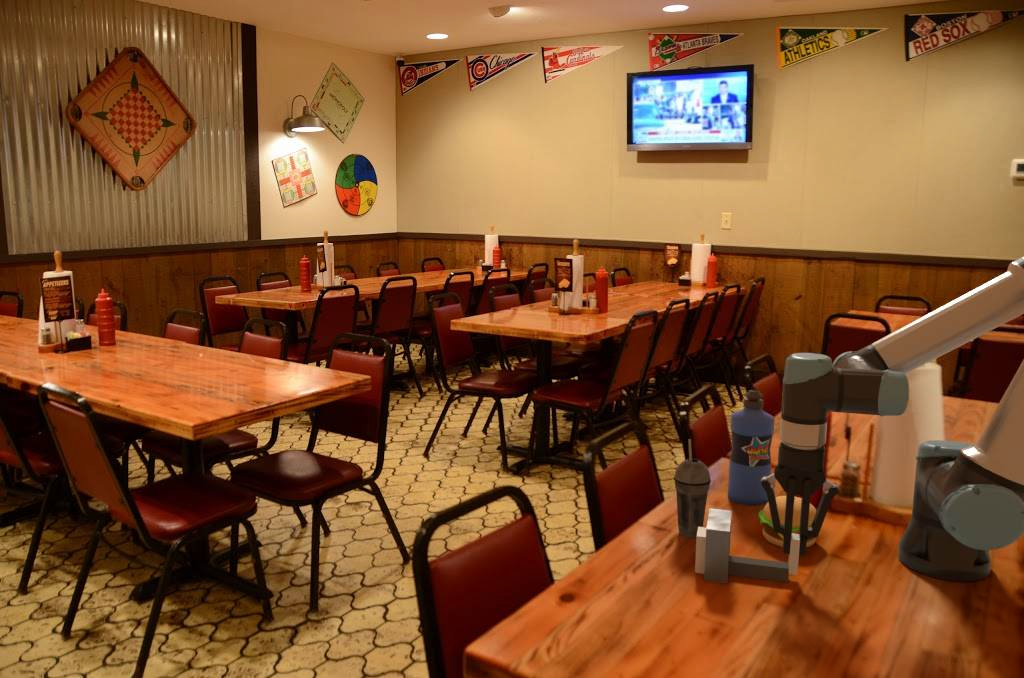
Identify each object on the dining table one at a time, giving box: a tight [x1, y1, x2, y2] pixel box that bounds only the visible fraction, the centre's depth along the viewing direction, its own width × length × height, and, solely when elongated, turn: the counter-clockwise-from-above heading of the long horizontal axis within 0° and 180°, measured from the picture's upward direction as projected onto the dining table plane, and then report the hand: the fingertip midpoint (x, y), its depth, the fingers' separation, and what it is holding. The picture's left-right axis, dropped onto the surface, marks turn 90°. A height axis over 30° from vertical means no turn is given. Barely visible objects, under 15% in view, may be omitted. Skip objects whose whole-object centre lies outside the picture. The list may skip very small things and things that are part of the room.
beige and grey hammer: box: [694, 526, 790, 583], centre depth 145 cm, size 16×4×7 cm, turn 73°
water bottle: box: [727, 388, 776, 506], centre depth 180 cm, size 9×9×25 cm
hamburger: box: [758, 495, 821, 549], centre depth 160 cm, size 12×12×9 cm
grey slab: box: [703, 507, 733, 585], centre depth 146 cm, size 4×10×10 cm, turn 163°
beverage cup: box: [673, 438, 712, 539], centre depth 161 cm, size 7×7×20 cm
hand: (792, 571), depth 143 cm, fingers closed
